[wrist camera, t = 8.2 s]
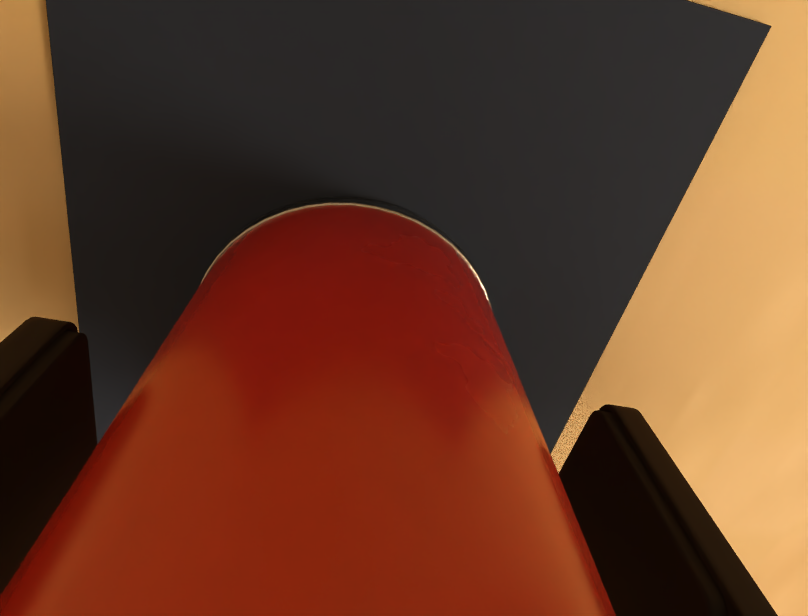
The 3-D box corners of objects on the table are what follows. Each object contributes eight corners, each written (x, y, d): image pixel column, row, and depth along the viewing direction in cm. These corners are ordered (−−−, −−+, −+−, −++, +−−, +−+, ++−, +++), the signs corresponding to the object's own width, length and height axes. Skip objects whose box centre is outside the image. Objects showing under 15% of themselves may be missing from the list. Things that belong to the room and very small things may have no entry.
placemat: (29, -197, 7) (25, -201, 7) (768, 25, 9) (771, 25, 9) (101, 532, 15) (99, 534, 15) (489, 567, 17) (490, 570, 16)
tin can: (202, 163, 9) (-1626, 1724, 1) (532, 232, 11) (1267, 1222, 2) (192, 424, 13) (-194, 1301, 4) (447, 457, 14) (572, 1204, 5)
